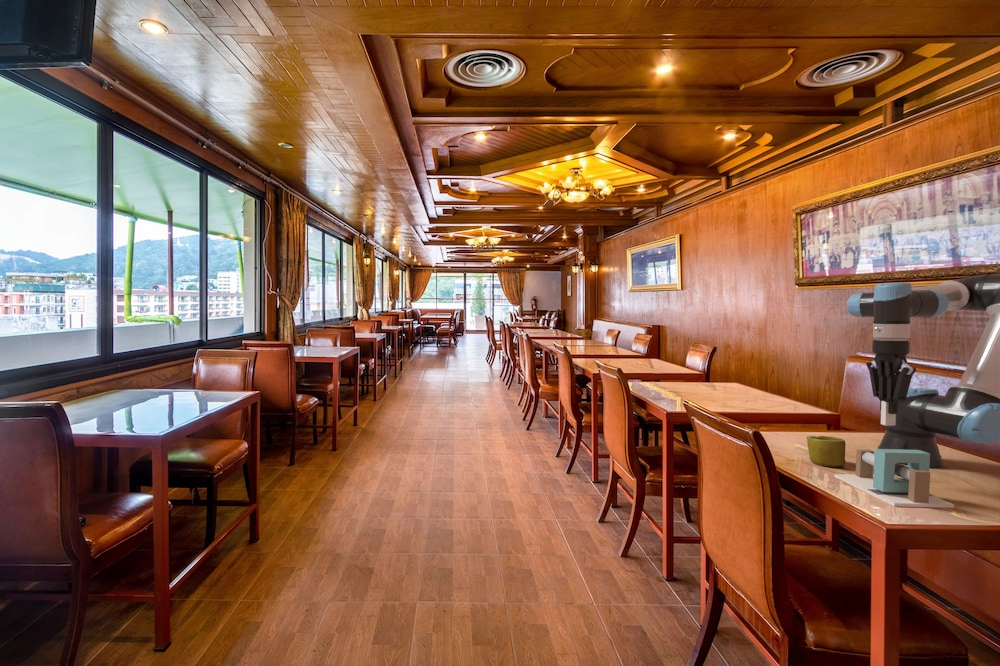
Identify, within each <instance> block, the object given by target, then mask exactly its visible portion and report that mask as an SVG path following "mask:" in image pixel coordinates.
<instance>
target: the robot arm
mask: <svg viewBox="0 0 1000 666" xmlns="http://www.w3.org/2000/svg"><path fill="white" fill-rule="evenodd" d="M846 310H847V312H848V314H849V315H851V316H852V317H858V318H873V322H872V323H873V325H872V326H873V327H872V337H873V341H872V342H871V343H872V349H871V351H872V353H873V354H875V356H874V359H873V360H872V361H870V362H869V361H868V362H866V365H865V366H866V367H867V370H868V373H869V377H870V384H871V385H870V386H871V389H872V395H873V397H875V398H878V400H879V411H880V425H883V426H885V432H884V434H883V436H882V439H881V441H880V443H879V445H878V446H877V448H876V449H902V450H921V451H924V452H927V453H930V465H929V468H940V467H942V466H943V457H942V455H941V453H940V449H939V446H938V443H937V439H936V435H940V436H946V437H950V438H956V439H958V440H959V439H960V440H963V441H965V442H972V443H973V442H974V443H978V444H991V443H995V442H997V441H999V440H1000V273H989V274H987V273H986V274H979V275H974V276H973V275H972V276H967V277H963V278H957V279H953V280H947V281H942V282H939V284H937V285H927V286H920V287H918V286H917V287H912V284H911V283H909V282H905V281H904V282H901V281H900V282H883V283H878V284H876V285H875V286H874V291H873V292H860V293H859V292H858V293H854V294H852V295H850V297H848V300H847V302H846ZM946 311H951V312H952V311H972V312H973V311H974V312H976V311H977V312H986V313H987V315H989V318H988V321H987V323H986V326H985V328H984V330H983V332H982V334H981V336H980V338H979V340H978V342H977V345H976V347H975V349H974V351H973V353H972V355H971V357H970V360H969V361H968V363H967V366H966V368H965V370H964V372H963V374H962V377H961V379H960V380H959V383H958V384H957V385H954V386H953V385H952V386H950V387H949V388H948V389H947V392H946V394H945V395H940V392H939V391H938V389H936V388H935V389H934V388H914V387H913V388H910V385H911V383H912V378H913V376H914V374H916V371H917V369H916V367H914V366H912V367H911V366H910V365H909V364H908V360H907V357H906V356H907V355H909V354H910V341H909V339H910V338H911V318H926V319H927V318H928V319H929V318H937V317H939V316H941V315H943V314H944V313H945V312H946ZM907 339H908V340H907ZM901 465H906V466H908V463H901Z"/></svg>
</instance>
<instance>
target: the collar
mask: <svg viewBox="0 0 1000 666" xmlns="http://www.w3.org/2000/svg"><path fill="white" fill-rule="evenodd" d="M874 454H875V458H874V466H873V475H874V477H873V487H874V488H876V489H878V490H880V491H882V492H903V493H908V492H909V480H907V479H904V478H902V477H900V478H899V477H898V478H897V477H895V474H894V469H895V463H899V464H902V463H908V465H907V467H909V468H912V469H915V470H925V471H928V472H930V467H929V465H930V453H927V452H924V451H921V450H902V449H877V448H875V449H874Z"/></svg>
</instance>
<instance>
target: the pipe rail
mask: <svg viewBox="0 0 1000 666" xmlns="http://www.w3.org/2000/svg"><path fill="white" fill-rule="evenodd" d="M874 458H875V450H871V449H856V457H855V474H852V473H851V474H847V473H839V474H838V473H834V474H833V475H834V476H833V477H834V478H836V479H837V480H839V481H842V482H844V483H846V484H848V485H850V486H852V487H854V488H856V489H858V490H860V491H861V492H862V491H863V492H864V493H866V494H869V495H871V496H872V497H874V498H876V499H879V500H881V501H883V502H885V503H886V504H889V505H890V506H893V507H897V508H898V507H902V508H903V507H904V508H943V509H948V508H949V509H954V508H955V504H954V503H951V502H949V501H947V500H944V499H942V498H940V497H938V496H935V495H933V494H930V485H931V471H929V472H928V471H925V470H915V469H912V468H909V467H908V465H905V464H902V463H895V469H894V476H897V477H900V478H904V479H907V480H909V492H908V493H903V492H882V491H880V490H878V489H876V488H874V487H873V477H874Z"/></svg>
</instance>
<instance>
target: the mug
mask: <svg viewBox="0 0 1000 666" xmlns="http://www.w3.org/2000/svg"><path fill="white" fill-rule="evenodd" d="M806 441H807V448H808V455H809V461H810V462H812V463H813V464H815V465H818V466H820V467H830V468H831V467H832V468H836V467H837V468H839V467H844V466H846V440H845V439H844V438H841V437H836V436H831V435H830V436H829V435H819V436H816V435H814V434H811V435H807V436H806Z"/></svg>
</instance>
